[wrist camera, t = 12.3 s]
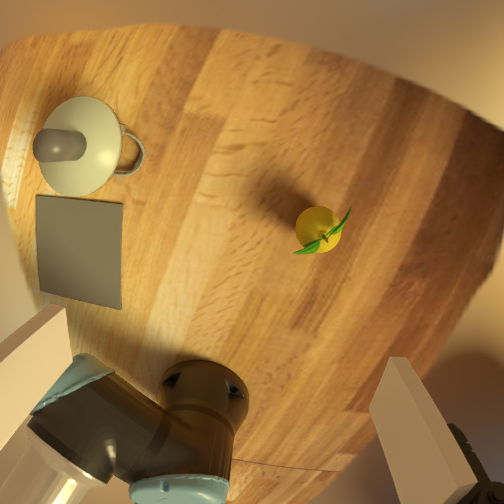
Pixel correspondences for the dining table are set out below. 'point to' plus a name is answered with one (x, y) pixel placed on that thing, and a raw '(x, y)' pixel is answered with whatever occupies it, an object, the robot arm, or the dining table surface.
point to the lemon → (318, 229)
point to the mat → (80, 249)
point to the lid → (79, 146)
